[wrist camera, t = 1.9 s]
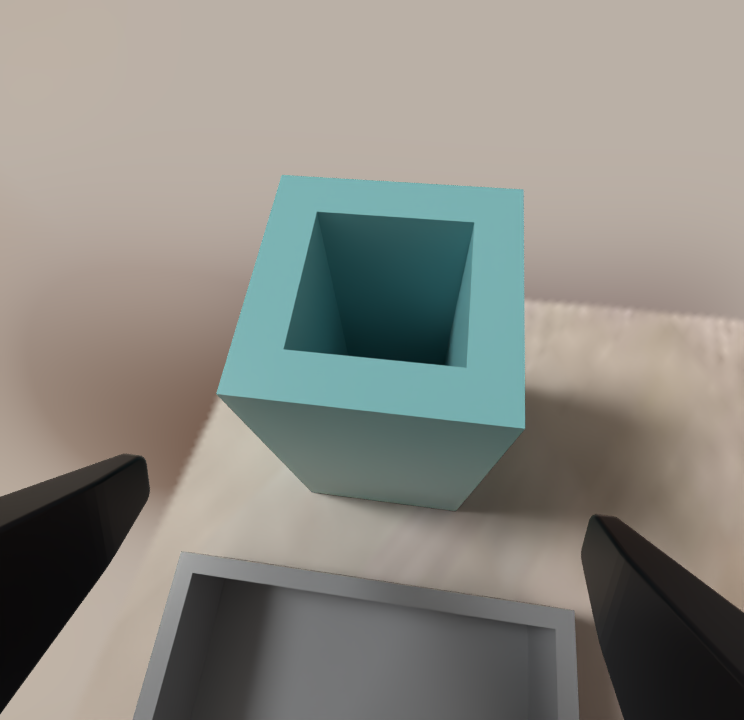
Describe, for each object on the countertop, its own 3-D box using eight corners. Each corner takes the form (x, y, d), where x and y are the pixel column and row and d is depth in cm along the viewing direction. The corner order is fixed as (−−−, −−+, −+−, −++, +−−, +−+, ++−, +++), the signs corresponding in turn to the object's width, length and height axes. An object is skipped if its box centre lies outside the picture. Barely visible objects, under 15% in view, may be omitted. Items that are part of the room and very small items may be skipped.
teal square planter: (455, 511, 20) (525, 428, 9) (311, 492, 21) (216, 393, 10) (463, 376, 23) (523, 189, 12) (335, 363, 23) (281, 175, 12)
